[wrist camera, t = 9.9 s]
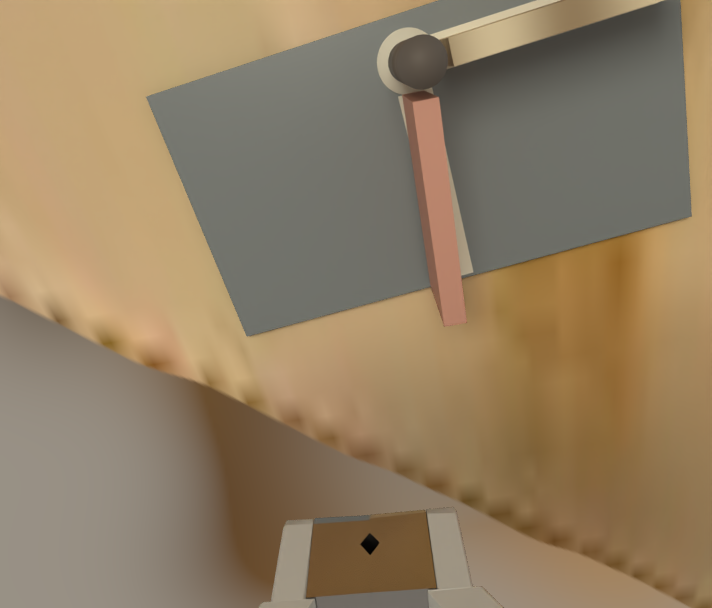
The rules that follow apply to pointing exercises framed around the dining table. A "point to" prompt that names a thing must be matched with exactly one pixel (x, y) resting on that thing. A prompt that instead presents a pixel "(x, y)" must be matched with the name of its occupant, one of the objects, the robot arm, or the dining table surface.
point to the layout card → (394, 163)
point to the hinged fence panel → (435, 203)
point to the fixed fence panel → (496, 38)
